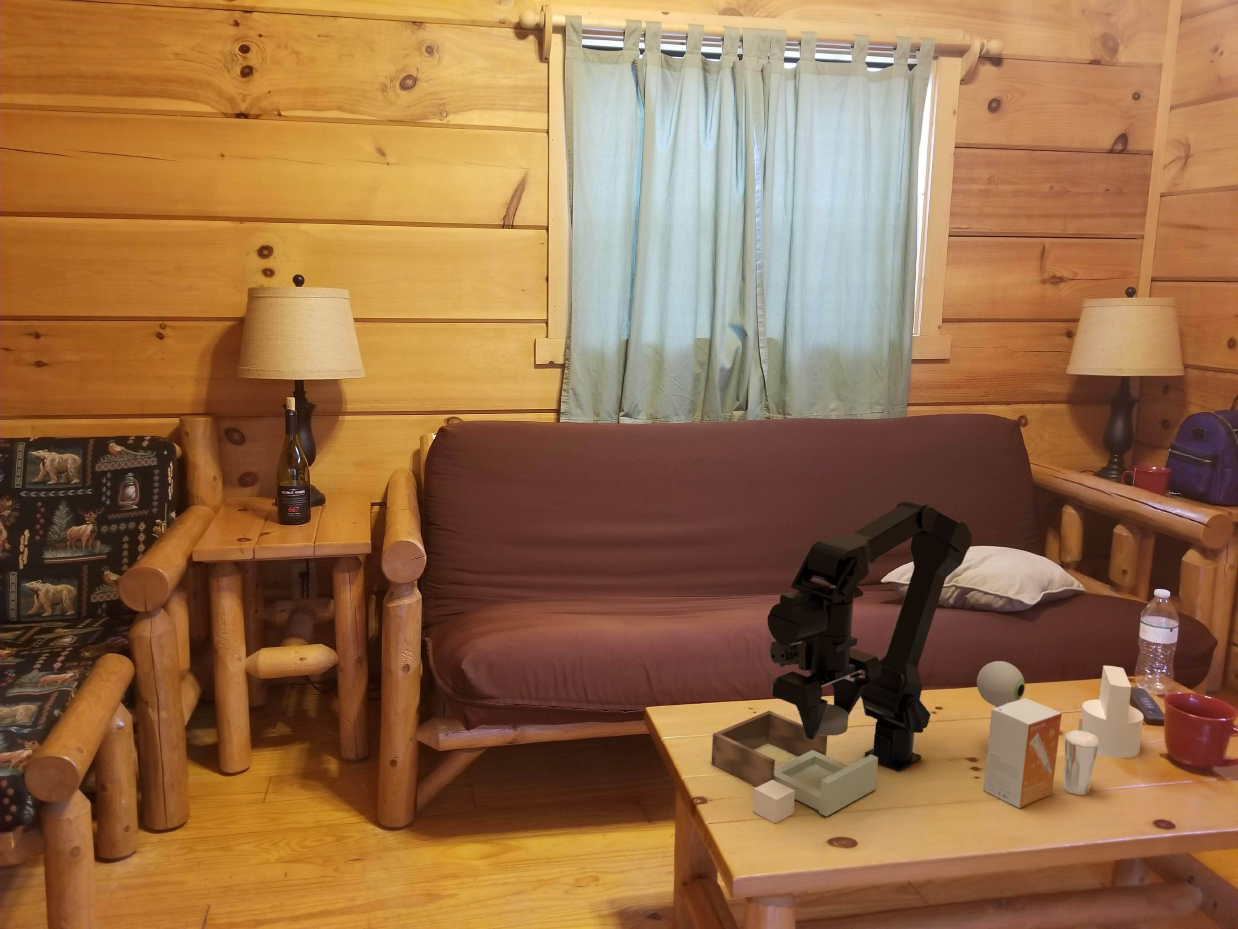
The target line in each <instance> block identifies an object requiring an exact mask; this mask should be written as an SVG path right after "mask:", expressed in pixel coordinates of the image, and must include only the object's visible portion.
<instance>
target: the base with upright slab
mask: <svg viewBox="0 0 1238 929" xmlns="http://www.w3.org/2000/svg"><path fill="white" fill-rule="evenodd" d="M1131 692H1132V685H1131V683H1130V681H1129V678H1128V675H1127V674H1126V671H1125V669H1124V668H1123V667H1119V666H1114V665H1103V666H1102V674H1101V681H1100V690H1099V697H1098V699H1090V700H1086V701H1084V702H1083V703H1082V707H1081V715H1080V716H1081V717H1080V719H1083V724H1082V731H1084V732H1089V733H1091V734H1094V735H1095V736H1096V737H1097V738H1098V740H1099V746H1098V750H1097V754H1098V755H1101V756H1106V757H1110V758H1114V759H1115V758H1117V759H1128V758H1130V759H1131V758H1134V757H1137V756H1138V755H1139V753H1140V750H1141V748H1140V747H1141V741H1142V732H1143V724H1144V714H1143V713H1142V712H1141V711H1140V710H1139V709H1137V708H1135V707H1133V706H1131V705H1130V700H1131Z"/></svg>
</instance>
